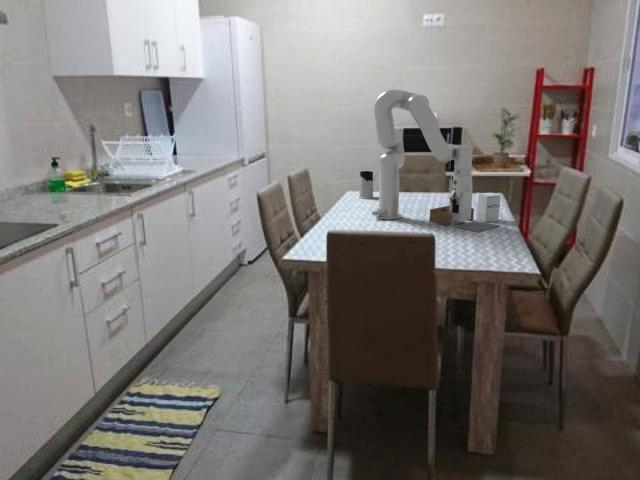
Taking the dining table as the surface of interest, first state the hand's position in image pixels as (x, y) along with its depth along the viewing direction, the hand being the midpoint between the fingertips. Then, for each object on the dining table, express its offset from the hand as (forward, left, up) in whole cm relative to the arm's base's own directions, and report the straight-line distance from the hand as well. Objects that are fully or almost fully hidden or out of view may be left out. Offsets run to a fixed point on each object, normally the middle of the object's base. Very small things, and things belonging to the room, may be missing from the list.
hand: (460, 211), depth 243 cm
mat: (0, -10, -6) cm, 11 cm away
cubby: (0, +4, -6) cm, 7 cm away
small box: (0, 0, -4) cm, 4 cm away
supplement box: (+15, -5, -6) cm, 17 cm away
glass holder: (+13, +74, -6) cm, 76 cm away
